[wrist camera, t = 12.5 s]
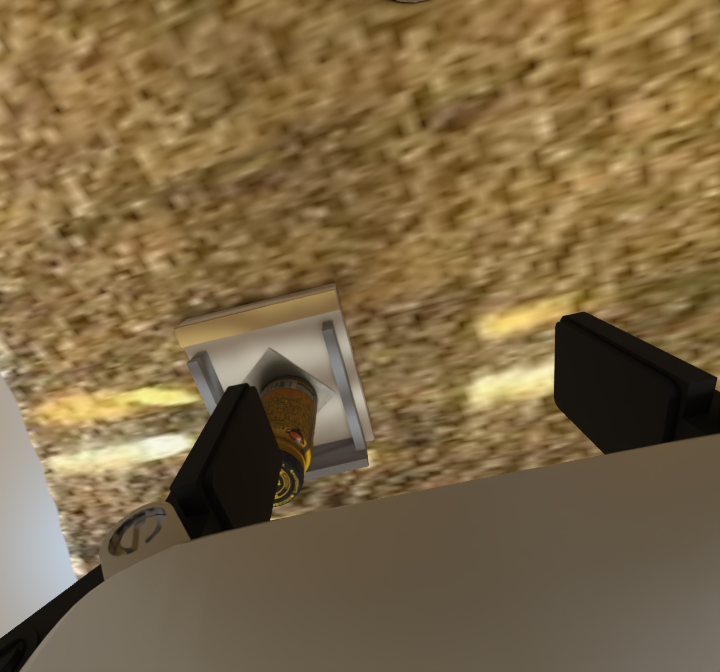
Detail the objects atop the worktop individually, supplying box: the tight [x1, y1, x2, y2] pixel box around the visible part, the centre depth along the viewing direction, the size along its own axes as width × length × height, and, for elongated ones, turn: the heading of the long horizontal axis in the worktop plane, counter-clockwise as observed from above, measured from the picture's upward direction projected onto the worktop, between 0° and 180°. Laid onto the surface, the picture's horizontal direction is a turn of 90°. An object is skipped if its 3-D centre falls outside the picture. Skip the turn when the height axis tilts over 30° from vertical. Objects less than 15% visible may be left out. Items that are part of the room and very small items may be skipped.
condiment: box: [241, 348, 335, 507], centre depth 31 cm, size 7×8×12 cm
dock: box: [173, 283, 374, 481], centre depth 36 cm, size 18×16×7 cm
